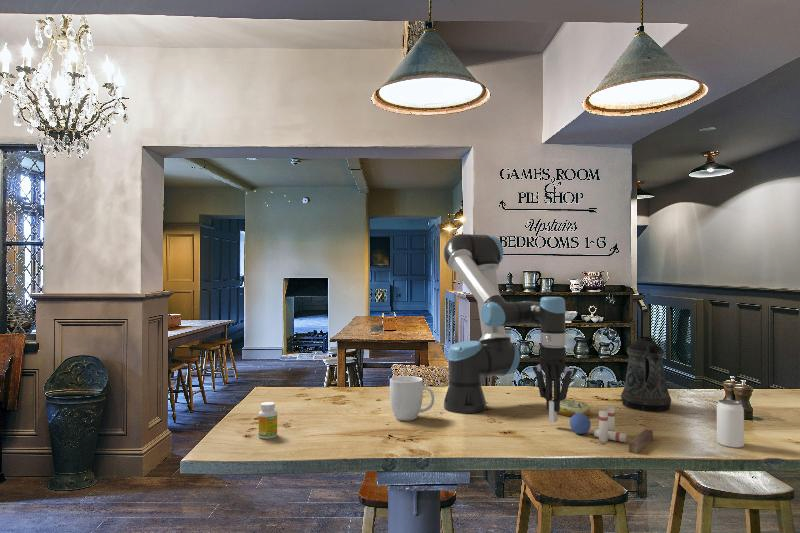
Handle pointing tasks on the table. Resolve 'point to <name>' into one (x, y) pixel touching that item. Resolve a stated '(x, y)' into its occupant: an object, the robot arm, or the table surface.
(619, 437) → the pin front
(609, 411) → the pin back left
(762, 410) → the table surface
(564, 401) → the decorated donut
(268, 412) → the supplement bottle
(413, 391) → the mug
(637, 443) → the rail
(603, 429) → the pin back right
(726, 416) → the can
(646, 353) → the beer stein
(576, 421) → the ball
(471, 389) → the robot arm
